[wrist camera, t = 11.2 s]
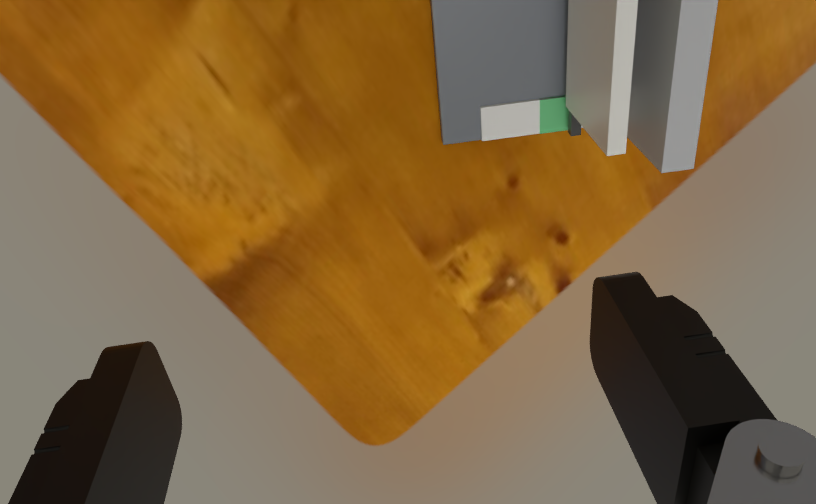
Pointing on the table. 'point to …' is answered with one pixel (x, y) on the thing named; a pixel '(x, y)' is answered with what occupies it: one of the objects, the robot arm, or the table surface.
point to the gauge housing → (547, 66)
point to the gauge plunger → (600, 70)
